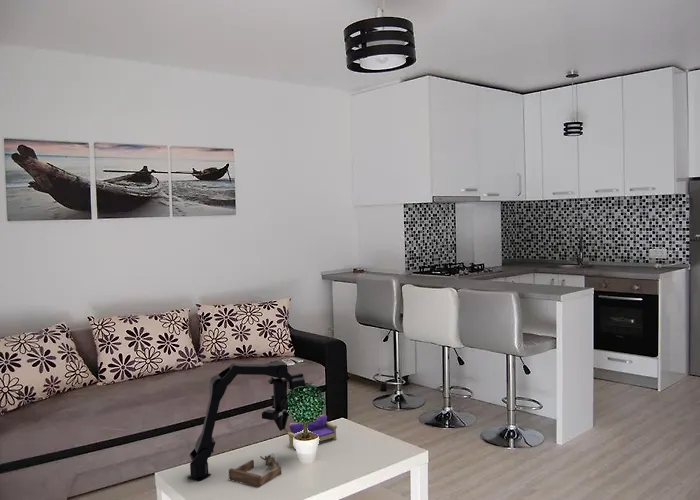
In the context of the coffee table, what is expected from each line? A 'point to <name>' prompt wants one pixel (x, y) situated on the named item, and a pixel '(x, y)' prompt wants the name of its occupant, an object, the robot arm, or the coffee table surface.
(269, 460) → the eagle figurine
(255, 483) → the walnut bay
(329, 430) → the toy sofa
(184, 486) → the coffee table surface
